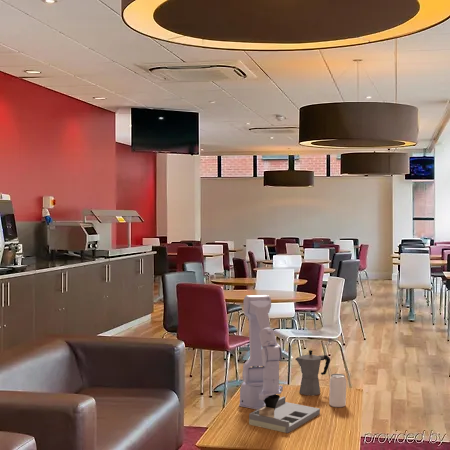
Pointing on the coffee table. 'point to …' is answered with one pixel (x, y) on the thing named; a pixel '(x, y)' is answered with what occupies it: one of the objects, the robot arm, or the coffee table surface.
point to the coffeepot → (311, 373)
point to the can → (337, 390)
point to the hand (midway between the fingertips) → (270, 414)
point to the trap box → (284, 416)
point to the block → (267, 412)
